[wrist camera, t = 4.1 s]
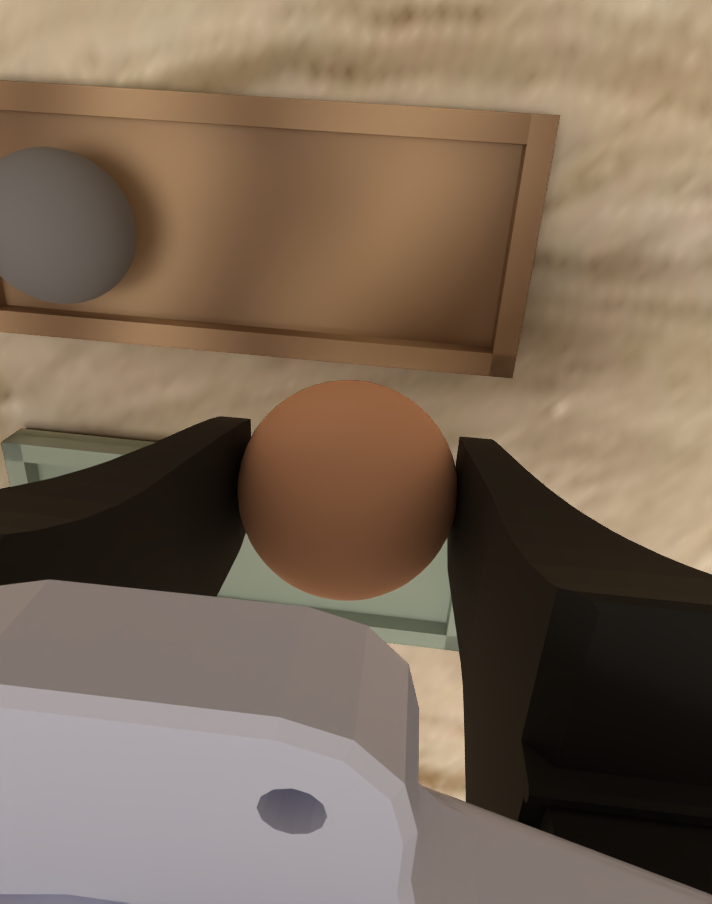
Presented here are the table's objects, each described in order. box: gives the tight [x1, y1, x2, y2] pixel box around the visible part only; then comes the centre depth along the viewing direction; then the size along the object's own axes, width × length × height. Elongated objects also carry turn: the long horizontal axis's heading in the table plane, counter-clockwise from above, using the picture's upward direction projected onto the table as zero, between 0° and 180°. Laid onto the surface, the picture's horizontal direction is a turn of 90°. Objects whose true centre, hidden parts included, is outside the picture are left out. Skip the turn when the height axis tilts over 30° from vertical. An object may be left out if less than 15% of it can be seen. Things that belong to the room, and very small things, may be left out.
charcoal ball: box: [0, 147, 136, 304], centre depth 17 cm, size 4×4×4 cm
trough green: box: [1, 429, 459, 651], centre depth 23 cm, size 17×7×1 cm, turn 87°
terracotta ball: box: [237, 380, 457, 601], centre depth 11 cm, size 4×4×4 cm
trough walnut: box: [0, 80, 560, 378], centre depth 18 cm, size 17×7×1 cm, turn 87°
